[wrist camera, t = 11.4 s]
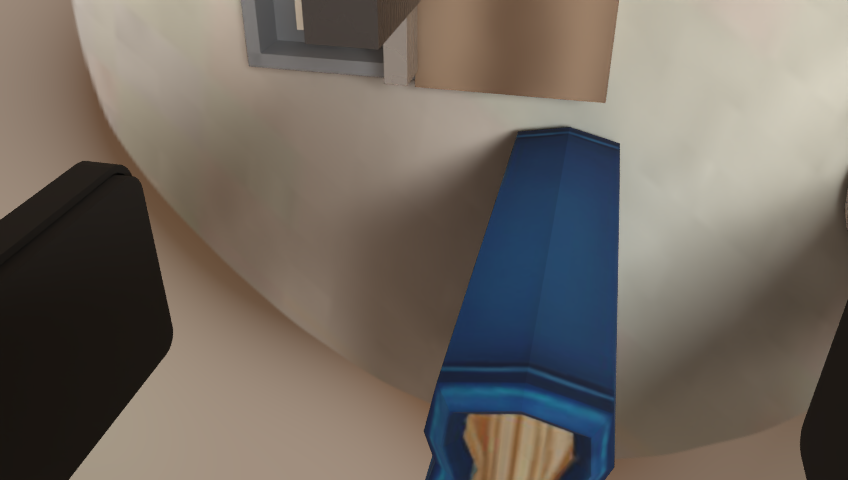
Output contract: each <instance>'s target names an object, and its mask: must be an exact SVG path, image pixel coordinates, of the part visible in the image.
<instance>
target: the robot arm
mask: <svg viewBox="0 0 848 480" xmlns="http://www.w3.org/2000/svg"><path fill="white" fill-rule="evenodd" d="M845 217H846V227H847V230H848V190H847V196H846V203H845ZM172 338H173V327H172V322H171V317H170V313H169V308H168V304H167V299H166V295H165V290H164V285H163V280H162V276H161V271H160V267H159V262H158V257H157V253H156V248H155V244H154V239H153V234H152V230H151V225H150V221H149V216H148V211H147V207H146V202H145V197H144V193H143V188H142V185H141V183H140V181H139V180H138V179H137V178H136V177H133V176H132V175H131V173H130V171H129V170H128V168H126V167H125V166H123V165H117V164H108V163H99V162H90V161H82V162H80V163H77V164H76V165H74V166H73V167H72V168H70V169H69V170H68V171H66V172H65V173H63V174H62V175H61V176H59V177H58V178H57V179H55V180H54V181H53V182H51V183H50V184H48V185H47V186H46V187H44V188H43V189H42V190H40V191H39V192H38V193H36V194H35V195H34V196H33V197H31V198H29V199H28V200H27V201H25V202H24V203H23V204H21V205H20V206H19V207H17V208H16V209H14V210H13V211H12V212H11V213H9V214H8V215H6V216H5V217H4V218H2V219H1V220H0V480H69V479H70V477H71V476H72V475H73V473H74V472H75V471H76V470H77V468H78V467H79V466H80V464H81V463H82V462H83V461H84V459H85V458H86V457H87V455H88V454H89V453H90V451H91V450H92V449H93V448H94V446H95V445H96V444H97V443H98V441H99V440H100V439H101V438H102V436H103V435H104V434H105V432H106V431H107V430H108V428H109V427H110V426H111V425H112V423H113V422H114V421H115V419H116V418H117V417H118V416H119V414H120V413H121V412H122V410H123V409H124V408H125V407H126V405H127V404H128V403H129V402H130V400H131V399H132V398H133V396H134V395H135V394H136V393H137V391H138V390H139V389H140V387H141V386H142V385H143V383H144V382H145V381H146V380H147V378H148V377H149V376H150V374H151V373H152V372H153V371H154V369H155V368H156V367H157V365H158V364H159V363H160V362H161V360H162V359H163V358H164V357H165V355H166V354H167V352H168V351H169V349H170V346H171V343H172ZM800 450H801V457H802V461H803V466H804V470H805V474H806V478H807V480H848V301H847V303H846V306H845V309H844V312H843V314H842V317H841V320H840V323H839V326H838V328H837V331H836V334H835V337H834V339H833V342H832V345H831V348H830V351H829V353H828V356H827V359H826V362H825V364H824V367H823V370H822V373H821V376H820V378H819V381H818V384H817V387H816V389H815V392H814V395H813V398H812V401H811V403H810V406H809V409H808V412H807V414H806V417H805V420H804V423H803V426H802V430H801V439H800Z"/></svg>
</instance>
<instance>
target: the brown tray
mask: <svg viewBox="0 0 848 480" xmlns="http://www.w3.org/2000/svg"><path fill="white" fill-rule="evenodd" d="M618 4H619V0H421V1H420V2H419V4H418V5H417V72H416V74H415V87H423V88H435V89H447V90H459V91H471V92H482V93H494V94H506V95H518V96H530V97H542V98H554V99H565V100H577V101H589V102H601V103H605V102H606V94H607V87H608V79H609V72H610V64H611V57H612V49H613V42H614V34H615V27H616V19H617V12H618Z"/></svg>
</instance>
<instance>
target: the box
mask: <svg viewBox="0 0 848 480" xmlns="http://www.w3.org/2000/svg"><path fill="white" fill-rule="evenodd" d="M241 5H242V13H243V22H244V30H245V38H246V46H247V54H248V62H249V66H252V67H264V68H276V69H288V70H300V71H312V72H324V73H336V74H349V75H361V76H373V77H384V54H383V45H382V46H381V48H380V49H379V50H378V49H365V48H351V47H338V46H325V45H312V44H305V39H304V30H297V24H296V12H295V0H241ZM412 80H415V75H414V77H413V78H412Z"/></svg>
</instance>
